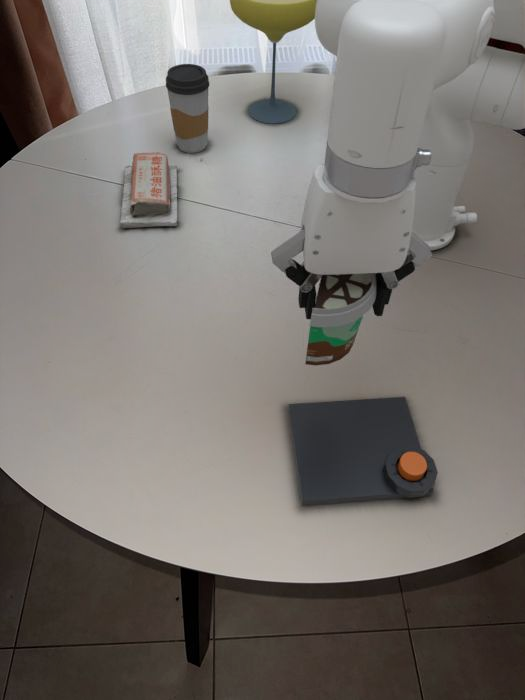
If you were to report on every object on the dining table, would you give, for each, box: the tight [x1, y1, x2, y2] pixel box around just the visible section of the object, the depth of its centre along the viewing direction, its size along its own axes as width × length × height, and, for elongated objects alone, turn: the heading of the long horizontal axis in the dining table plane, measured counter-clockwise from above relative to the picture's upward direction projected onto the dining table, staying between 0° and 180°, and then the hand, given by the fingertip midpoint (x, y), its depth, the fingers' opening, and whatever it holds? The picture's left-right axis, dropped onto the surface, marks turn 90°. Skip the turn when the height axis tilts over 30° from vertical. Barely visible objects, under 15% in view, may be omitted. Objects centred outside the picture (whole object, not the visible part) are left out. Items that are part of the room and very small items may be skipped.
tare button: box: [398, 452, 427, 481], centre depth 70 cm, size 3×3×2 cm
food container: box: [304, 273, 377, 367], centre depth 64 cm, size 12×6×10 cm, turn 168°
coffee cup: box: [165, 63, 210, 154], centre depth 115 cm, size 8×8×15 cm
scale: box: [287, 396, 439, 507], centre depth 73 cm, size 17×15×3 cm
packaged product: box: [119, 151, 178, 229], centre depth 106 cm, size 18×5×10 cm
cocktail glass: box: [229, 0, 317, 125], centre depth 120 cm, size 18×18×25 cm
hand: (342, 307), depth 63 cm, fingers closed on food container, 6 cm apart
